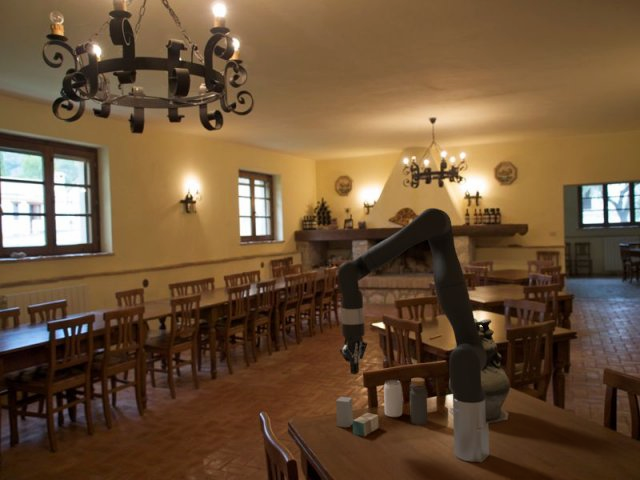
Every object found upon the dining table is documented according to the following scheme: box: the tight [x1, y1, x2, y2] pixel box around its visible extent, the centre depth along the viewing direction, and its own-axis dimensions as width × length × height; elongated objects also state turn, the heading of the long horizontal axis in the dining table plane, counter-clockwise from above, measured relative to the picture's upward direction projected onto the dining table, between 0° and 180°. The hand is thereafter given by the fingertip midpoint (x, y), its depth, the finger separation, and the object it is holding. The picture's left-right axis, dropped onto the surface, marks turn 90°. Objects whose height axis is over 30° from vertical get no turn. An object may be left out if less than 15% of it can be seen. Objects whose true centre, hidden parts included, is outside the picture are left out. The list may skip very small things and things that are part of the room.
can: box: [383, 379, 403, 418], centre depth 184 cm, size 6×6×12 cm
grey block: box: [335, 396, 354, 428], centre depth 175 cm, size 4×4×9 cm
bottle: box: [409, 377, 428, 426], centre depth 176 cm, size 6×6×15 cm
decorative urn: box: [448, 317, 511, 424], centre depth 180 cm, size 21×21×35 cm
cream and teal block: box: [352, 412, 379, 438], centre depth 169 cm, size 4×4×9 cm
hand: (354, 373), depth 165 cm, fingers closed
